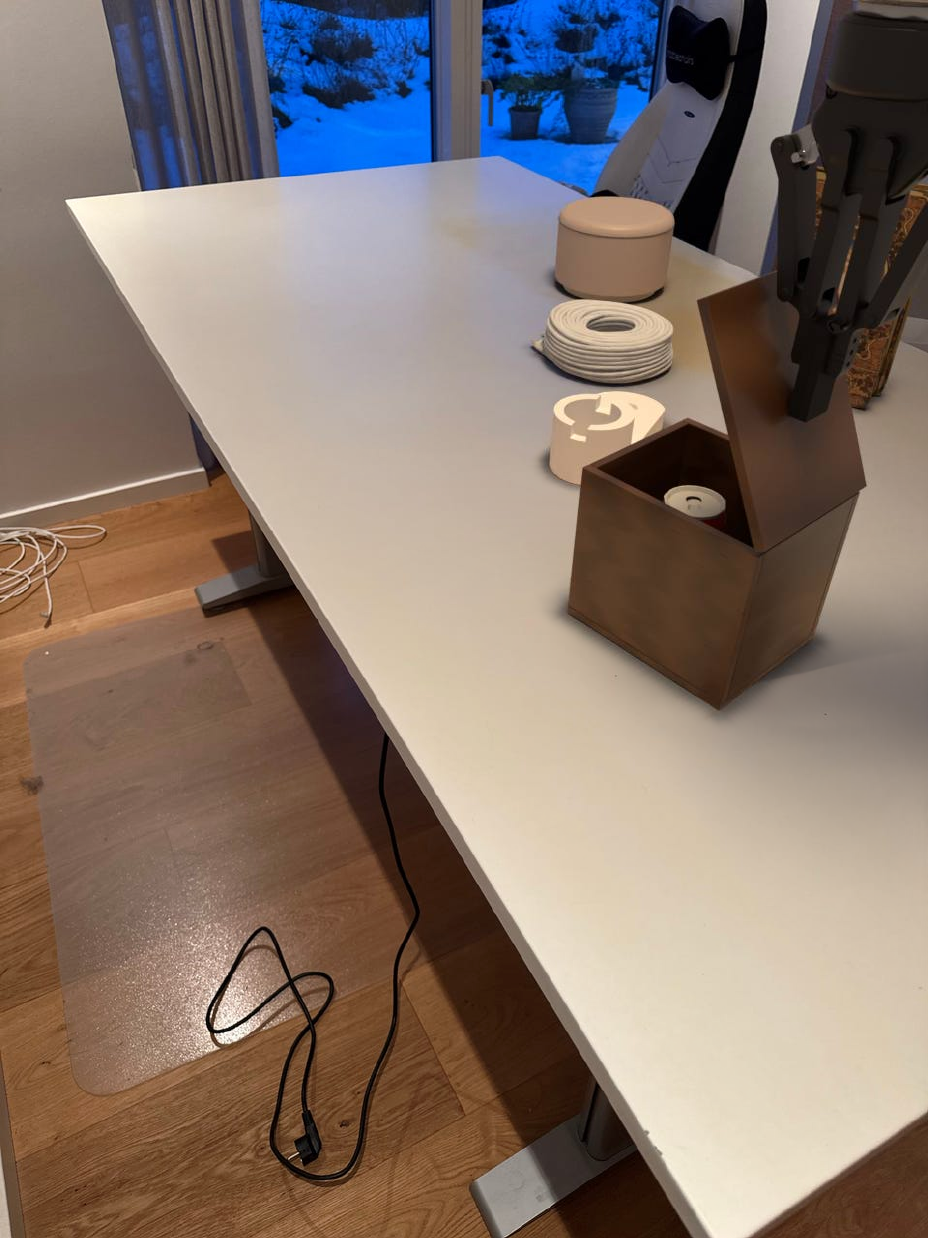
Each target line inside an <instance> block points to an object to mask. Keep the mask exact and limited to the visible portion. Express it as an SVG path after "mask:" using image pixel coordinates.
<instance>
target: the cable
mask: <svg viewBox="0 0 928 1238" xmlns="http://www.w3.org/2000/svg"><path fill="white" fill-rule="evenodd" d="M673 335H674V326H673V324H672V323H671V322H670V321H669V320H668V319H667V318H665V317H663V316H662V315H660V314H659V313H657V312H655V311H652V310H650V309H648V308H645V307H642V306H638V305H634V304H628V303H625V302H621V303H617V302H610V301H599V300H588V299H573V300H568V301H565V302H562V303H560V304H557V305H556V306H554V307H553V308H552V309H551V311H550V312H549V316H548V317H547V319H546V327H545V332H544V333H541V334H540V337H541V338H543V339H539V340H537V339H535V338H531V339H530V342H531V343H532V345H533V346H534V348H535V349H536V350H537V351H538V352H539V353H540V354H542V355H544V356H545V357H546V358H548V359H549V360H550V361H551V362H552V363H553V364H554V365H555V366H556V367H558V368H559V369H561V370H562V371H564V372H566V373H568V374H570V375H573V376H576V377H578V378H579V377H580V378H582V379H585V380H587V381H592V382H596V383H601V384H629V383H635V382H639V381H643V380H646V379H651V378H653V377H657V376H659V375H660V374H661V375H662V374H663V373H664V372H666V371H667V370H668V369H669V368H670V367H671V366H672V363H673V361H674V359H673V357H674V350H673Z"/></svg>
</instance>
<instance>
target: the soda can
mask: <svg viewBox="0 0 928 1238" xmlns="http://www.w3.org/2000/svg"><path fill="white" fill-rule="evenodd" d="M663 502H664V503H666V504H668V505H670V506H672V507H673V508H675V509H677V510H679V511H681V512H683V513H685V514H687V515H689V516H691V517H693V518H695V519H697V520H699V521H701V522H703V523H705V524H707V525H709V526H711V527H713V528H715V529H717V530H719V531H721V532H723V533H724V530H725V520H726V515H725V500H724V498H723V497H722V496H721V495H720V494H718V493H717V492H715V491H713V490H711V489H708V488H705V487H700V486H690V485H687V486H679V487H675V488H673V489H671V490H669V491H668V492H667V493H666V495H665V496H664V500H663Z"/></svg>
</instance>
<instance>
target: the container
mask: <svg viewBox="0 0 928 1238" xmlns="http://www.w3.org/2000/svg"><path fill="white" fill-rule="evenodd" d="M557 220H558V224H557V226H558V227H557V238H556V252H555V265H554V266H555V268H554V278H555V280H556V281H557V282H558V283H559V284H561V285H562V286H563V289H564V290H565V291H566V292H568V293H569V294H571V295H573V296H575V297H578V298H581V299H583V300H599V301H610V302H617V303H631V302H637V301H642V300H645V299H647V298H650V297H651V296H652V295H654V294H655V293H656V292H657V291H658V290H659V289H662V288H663V287H664V286H665V285H666V282H667V278H668V277H667V276H668V270H669V263H670V257H671V250H672V243H673V235H674V229H675V225H676V224H675V222H676V221H675V217H674V215H673V213H672V212H671V211H670V210H669V209H668V208H666V207H665V206H664V205H661V204H659V203H657V202H653V201H650V200H645V199H640V198H633V197H627V196H626V197H624V196H594V197H587V198H586V197H585V198H581V199H576V200H573V201H572V202H571V201H570V203H568V204H566V205H565V206H563V208H561V210H560V211H559V214H558V217H557Z"/></svg>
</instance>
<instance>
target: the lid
mask: <svg viewBox="0 0 928 1238" xmlns="http://www.w3.org/2000/svg"><path fill="white" fill-rule="evenodd" d="M773 271H774V270H773ZM773 271H772V272H768V273H765V274H763V275H760V276H757V277H754V278H753V279H750V280H747V281H744V282H742V283H739V284H736V285H733V286H731V287H728V288H725V289H723V290H720V291H717V292H714V293H712V294H710V295H707V296H703V297H701V298H697V300H696V304H697V308H698V312H699V317H700V321H701V325H702V330H703V333H704V338H705V343H706V347H707V352H708V355H709V360H710V363H711V368H712V369H711V370H712V372H713V377H714V381H715V385H716V390H717V394H718V398H719V403H720V408H721V411H722V415H723V419H724V424H725V428H726V434H727V435H728V438H729V442H730V446H731V450H732V455H733V459H734V463H735V468H736V472H737V476H738V481H739V485H740V489H741V494H742V498H743V502H744V506H745V511H746V515H747V519H748V524H749V528H750V532H751V537H752V541H753V545H754V549H755V552H765V551H767V550H768V549H770V548H772V547H773V546H775V545H776V544H778V543H779V542H781V541H782V540H784V539H786V538H787V537H789V536H790V535H792V534H793V533H795V532H796V531H798V530H800V529H801V528H803V527H804V526H806V525H807V524H809V523H810V522H812V521H814V520H815V519H817V518H818V517H820V516H821V515H823V514H824V513H826V512H828V511H829V510H831V509H832V508H834V507H835V506H837V505H838V504H840V503H842V502H843V501H845V500H846V499H848V498H849V497H851V496H852V495H854V494H856V493H857V492H861V491H862V490H863V489H865V488H866V487H868V485H867V479H866V475H865V469H864V464H863V463H864V462H863V459H862V454H861V447H860V444H859V443H860V442H859V438H858V432H857V427H856V421H855V417H854V411H853V406H851V401H850V396H849V390H848V385H847V380H846V375H845V374H843V375H841V376H839V377H838V378H836V381H835V384H834V388H833V391H832V395H831V399H830V402H829V406H828V409H827V411H826V412H824V413H823V414H821V415H819V416H817V417H815V418H813V419H811V420H810V421H808V422H806V423H805V422H803V421H800V420H798V419H795V418H793V417H790V416H788V415H787V413H788V409H789V405H790V401H791V397H792V394H793V390H794V386H795V382H796V378H797V374H798V370H799V366H800V365H798V364H795V363H793V362H792V361H791V351H792V347H793V343H794V340H795V335H796V331H797V326H798V322H799V313H798V311H797V309H796V308H795V307H794V306H793V305H791V304H790V303H789V302H782V301H780V300H779V298H778V297H777V271H774V272H773ZM831 314H834V312H833V309H831V310H829V313H828V315H831Z"/></svg>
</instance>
